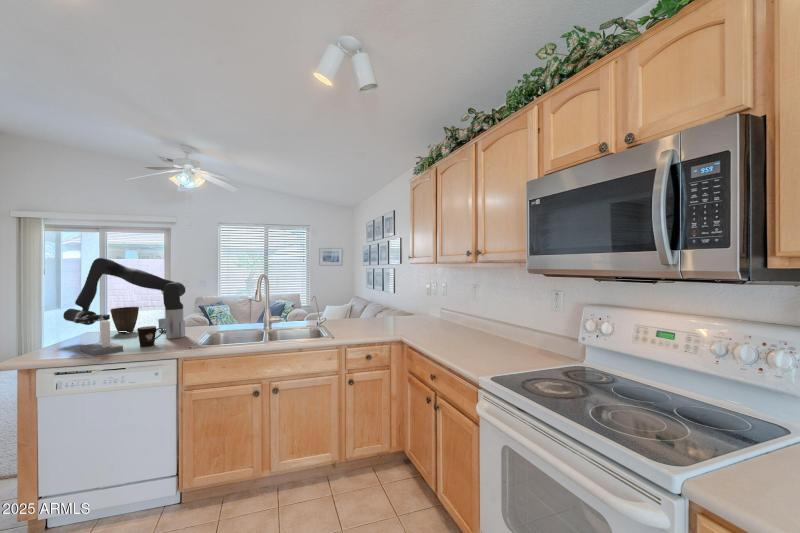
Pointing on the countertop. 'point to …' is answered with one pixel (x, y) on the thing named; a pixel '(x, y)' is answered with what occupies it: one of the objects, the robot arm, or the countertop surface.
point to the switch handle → (105, 334)
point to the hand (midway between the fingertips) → (97, 319)
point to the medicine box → (162, 324)
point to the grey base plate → (100, 348)
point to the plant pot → (125, 318)
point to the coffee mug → (147, 335)
